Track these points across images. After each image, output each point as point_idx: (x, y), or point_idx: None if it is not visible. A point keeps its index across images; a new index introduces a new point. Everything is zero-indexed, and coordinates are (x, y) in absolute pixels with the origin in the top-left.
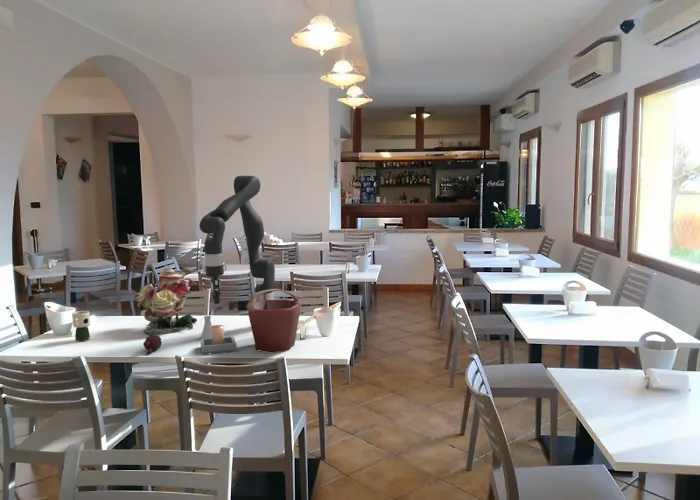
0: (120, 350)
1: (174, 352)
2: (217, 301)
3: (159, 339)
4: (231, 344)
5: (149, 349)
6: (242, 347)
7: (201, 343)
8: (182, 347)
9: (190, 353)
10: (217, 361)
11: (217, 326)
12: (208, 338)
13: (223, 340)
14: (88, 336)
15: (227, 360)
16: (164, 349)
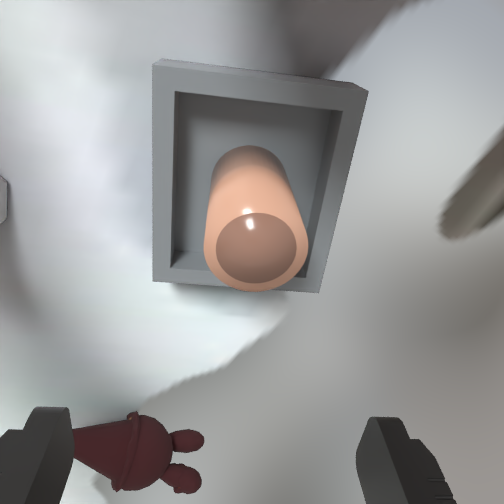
0: (98, 495)
1: (206, 361)
2: (431, 472)
3: (137, 446)
4: (359, 126)
5: (190, 448)
6: (280, 16)
7: None
8: (133, 329)
9: (255, 309)
10: (462, 219)
11: (269, 250)
12: (155, 239)
13: (279, 169)
14: None
15: (483, 171)
16: (140, 389)
